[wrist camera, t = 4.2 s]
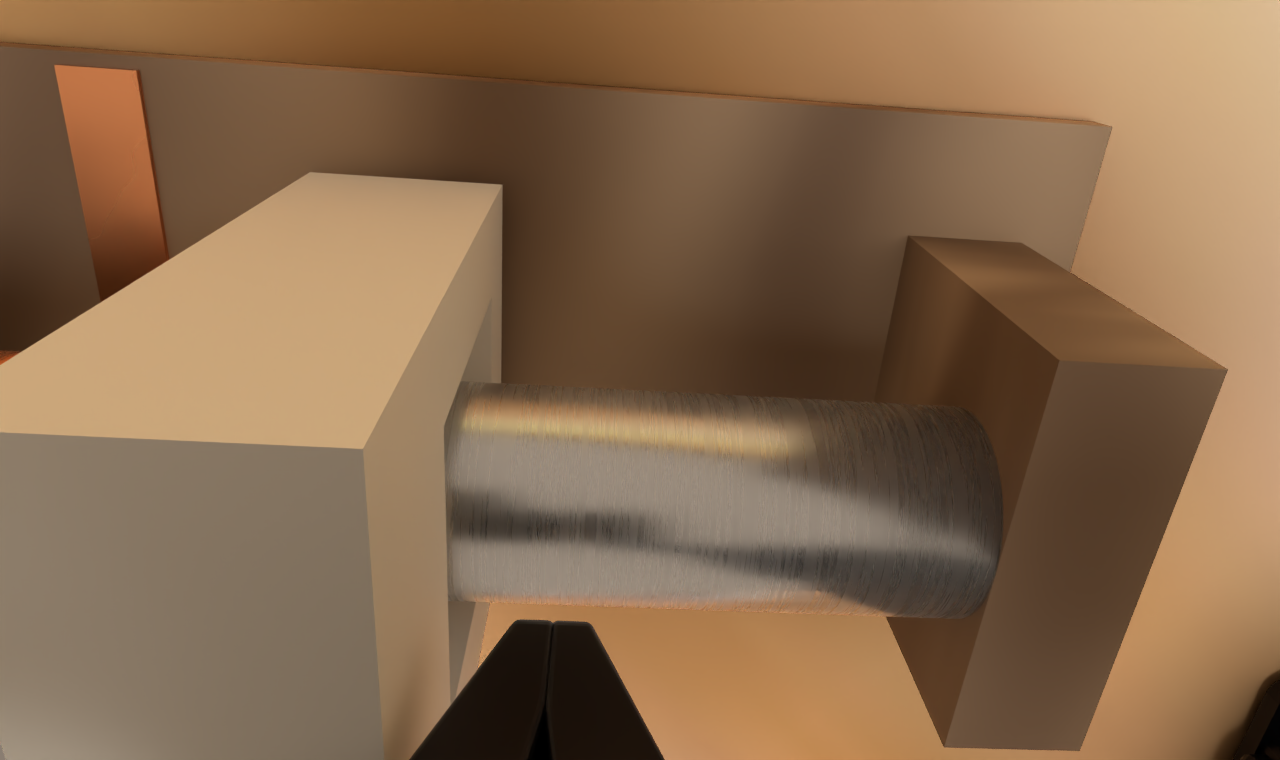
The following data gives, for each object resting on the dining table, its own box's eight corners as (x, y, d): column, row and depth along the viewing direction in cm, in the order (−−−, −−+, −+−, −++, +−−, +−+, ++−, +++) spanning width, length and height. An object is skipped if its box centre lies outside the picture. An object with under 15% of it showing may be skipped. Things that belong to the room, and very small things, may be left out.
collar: (502, 184, 14) (363, 449, 6) (500, 548, 17) (404, 1050, 9) (309, 172, 13) (-99, 427, 6) (341, 542, 16) (98, 1050, 9)
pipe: (1049, 135, 14) (1295, 217, 9) (926, 605, 18) (1049, 843, 13) (-249, 42, 13) (-799, 77, 8) (-75, 569, 17) (-365, 816, 12)
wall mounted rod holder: (1093, 121, 15) (1384, 202, 9) (959, 596, 19) (1105, 847, 13) (-287, 21, 13) (-917, 44, 8) (-103, 556, 17) (-429, 818, 12)
